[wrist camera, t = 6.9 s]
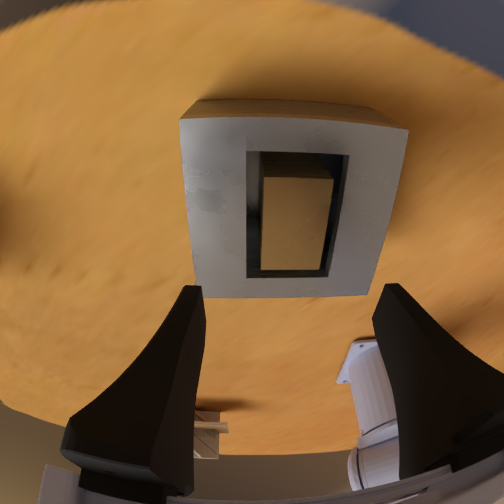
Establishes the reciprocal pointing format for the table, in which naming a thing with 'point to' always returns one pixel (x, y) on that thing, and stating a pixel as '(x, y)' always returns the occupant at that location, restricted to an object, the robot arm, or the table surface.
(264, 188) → the tan wooden block
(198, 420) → the architectural model
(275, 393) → the table surface
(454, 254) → the table surface
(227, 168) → the grey square frame
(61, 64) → the table surface
